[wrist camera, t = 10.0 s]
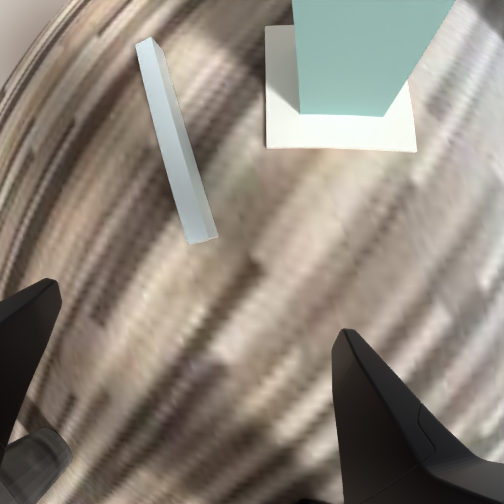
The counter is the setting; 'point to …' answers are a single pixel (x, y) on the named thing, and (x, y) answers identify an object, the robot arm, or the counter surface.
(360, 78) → the sage block
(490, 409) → the counter surface
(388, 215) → the counter surface
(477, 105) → the counter surface
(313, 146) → the resting pad
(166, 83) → the acrylic strip
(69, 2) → the counter surface
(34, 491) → the beverage cup
